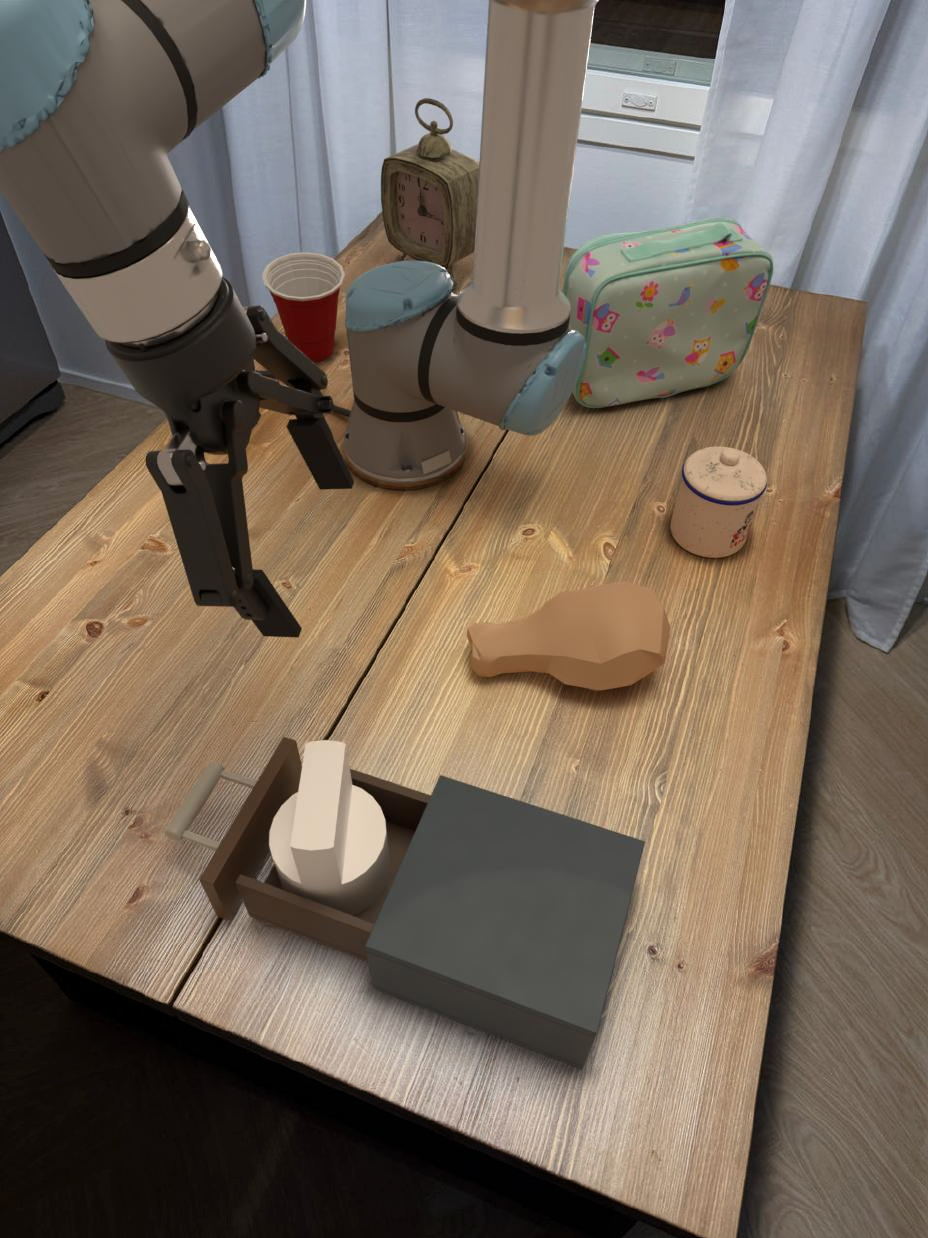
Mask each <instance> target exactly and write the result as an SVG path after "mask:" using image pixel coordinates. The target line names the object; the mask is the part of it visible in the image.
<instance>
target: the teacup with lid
mask: <svg viewBox="0 0 928 1238" xmlns="http://www.w3.org/2000/svg"><path fill="white" fill-rule="evenodd" d="M767 487H768V476H767V472H766V470H765V468H764V466H763V464H761V463H760V462H759V461H758V459H756V458H755V457H754V456H752V455H751V454H749V453H747V452H745V451H742V450H740V449H737V448H733V447H729V446H709V447H704V448H701V449H699V450H696V451H694V452H692V454H690V455H689V456H688V457H687V459H686V460H685V461H684V463H683V465H682V468H681V480H680V484H679V488H678V493H677V497H676V500H675V504H674V508H673V513H672V517H671V519H670V520H671V521H670V532H671V535H672V537H673V539H674V540H675V542H676V543H677V544H678V546H680V547H682V548H683V549H684V550H686V551H687V552H689V553H691V554H693V555H697V556H699V557H704V558H710V559H718V558H726V557H730V556H732V555H734V554H736V553H737V552H739V551H740V550H741V549H743V546H744V545H745V543H746V541H747V538H748V535H749V532H750V529H751V527H752V523H753V520H754V517H755V514H756V513H757V509H758V506H759V503H760V501H761V497H762V496H763V495H764V493H765V492H766V490H767Z"/></svg>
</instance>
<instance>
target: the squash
mask: <svg viewBox="0 0 928 1238" xmlns="http://www.w3.org/2000/svg"><path fill="white" fill-rule="evenodd" d="M670 633H671V626H670V622H669V619H668V616H667V613H666V609H665V607H664V605H663V603H662V602H661V600H660V598H659V596H658V594H657V593H656V591H655V590H654V589H653V588H649V587H646V586H643V585H642V586H641V585H640V584H636V583H632V582H629V581H627V580H626V581H624V580H623V581H614V582H606V583H600V584H595V585H590V586H588V587H587V588H583V589H575V590H567V591H560V592H559V593H558V594H556V595H554V596H553V597H551V598H549V599H548V600H546V601H545V603H544V604H543V605H542V606H541V608H539V609H538V610H536V611H535V612H533V613H532V614H530V615H528V616H526V617H525V618H523V619H516V620H510V621H504V622H499V623H494V622H488V621H485V622H484V621H483V622H474V623H473V624H471V625H470V626H468V627H467V631H466V638H467V641H468V643H469V646H470V649H471V654H470V662H469V669H470V670H472V671H473V672H474V673H475V674H477V676H478V677H484V678H492V677H495V676H498V675H501V674H511V673H523V672H525V673H526V672H534V673H542V674H548V675H551V676H552V677H554V678H555V679H556V680H558V681H559V682H561V683H562V684H564V685H566V686H567V685H568V686H573V687H579V688H584V689H587V690H589V691H605V690H612V689H618V688H623V687H628V686H632V685H633V684H635V683H637V682H638V681H640V680H642V679H643V678H645V677H647V676H648V675H650V674H652V673H653V672H654V671H656V670H658V669H660V668H662V667H663V666H664V665H665V663H666V657H667V653H668V645H669V639H670Z"/></svg>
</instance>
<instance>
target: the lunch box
mask: <svg viewBox="0 0 928 1238" xmlns="http://www.w3.org/2000/svg"><path fill="white" fill-rule="evenodd" d="M773 275H774V260H773V256H772V254H771V253H770V252H769V251H767V250H766V249H765V248H764V247H763V246H762V245H760V243H759V242H757V241H756V240H755V239H754V238H752V236H750V235H749V234H748V233H747V231H746V230H745V229H744V228H743V227H742V225H741V224H740V222H738V221H737V220H735V219H731V218H729V217H718V218H717V217H716V218H715V217H714V218H707V219H702V220H697V221H693V222H688V223H684V224H679V225H674V226H669V227H663V228H657V229H649V230H644V231H636V232H633V231H631V232H615V233H608V234H607V233H606V234H602V235H600V236H596V237H594V238H592V239H589V240H588V241H586V242H585V243H584V244H582V245H581V246H580V247H579V248H577V249H576V251H575V252H574V253H573V254H572V255H571V256H570V258H569V260H568V262H567V265H566V269H565V272H564V279H563V286H562V290H561V291H562V292H563V293H564V295H565V296H566V297H567V298H568V300H569V301H570V304H571V313H570V320H569V330H570V331H571V330H576V331H578V333H580V334H581V335H583V336H584V338H585V343H586V354H585V359H584V363H583V366H582V369H581V372H580V375H579V378H578V380H577V383H576V385H575V387H574V389H573V391H572V393H571V394H572V395H573V397H574V399H575V401H576V402H577V403H578V404H579V405H581V406H582V407H586V408H589V409H601V408H608V407H613V406H619V405H624V404H628V403H634V402H638V401H645V400H652V399H665V398H666V399H667V398H669V397H673V396H674V395H677V394H679V393H680V394H681V393H682V392H688V391H691V390H696V389H703V388H706V387H709V386H712V385H715V384H718V383H719V382H721V381H723V380H725V379H726V378H728V377H729V376H730V375H731V374H732V373H734V371H735V370H736V369H737V368H738V367H739V366H740V365H741V363H742V362H743V360H744V358H745V357H746V355H747V352H748V350H749V349H750V345H751V343H752V340H753V337H754V335H755V331H756V328H757V326H758V323H759V319H760V316H761V314H762V310H763V307H764V305H765V302H766V299H767V295H768V292H769V288H770V286H771V283H772V279H773Z"/></svg>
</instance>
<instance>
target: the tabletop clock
mask: <svg viewBox="0 0 928 1238" xmlns="http://www.w3.org/2000/svg"><path fill="white" fill-rule="evenodd" d="M425 104H427V105H432V106H435V107H437V108H439V109H441V110H442V111H443V112H444V113H445V115H446V116H447V118H448V120H449V125H448V127H447V128H438V122H437V121H436V120H432V121H430V123H429V124H428V123H426V122H425V121H424V120H423V119H422V118H421V117H420V115H419V109H420V107H421V106H422V105H425ZM414 115H415V118H416V120H417V121H418V124H419V125H420V126H421V127H423V128H424V129H425V130H427V131H428V133H426V134H424V135H423V136H421V137H420V139H419V141H418V143H416V144H415V145H411V146H410V147H408V148H406V149H404V150H401V151H399V152H397V153H395V154H392V155H390V156H388V157H386V158H384V159H383V161H382V165H381V170H380V171H381V173H380V202H381V203H380V204H381V211H382V213H381V214H382V221H383V226H384V231H385V235H386V238H387V241H388V243H390V245H391V246H392V247H393V248H395V249H396V250H397V251H399V252H401V253H402V255H398V256H397V257H396V259H395V262H400V261H407V258H406V257H407V256H408V257H410V258H411V259H414V260H415V261H426V262H431V263H435V264H437V265H440V266H442V267H443V268H448V270H447V271H448V273H449V275H450V276H451V280H452V282H453V289H455V288H456V287H457V285H458V284H457V279H456V278H455V277H454V264H456V263H458V262H459V261H461V260H463V259H465V258H466V257H468V256H471V254H473V253H474V250H475V233H476V215H477V197H478V180H479V162H480V160H477V159H476V158H473V157H471V156H469V155H467V154H464V153H462V152H460V151H458V150H455V149H453V146H452V144H451V142H450V140H449V139H448V137H447V136H445V135H446V134H449V133H450V132H451V131H452V130H453V126H454V119H453V115H452V113H451V111H450V110H449V108H447V106H446V105H445V104H444V103H442V102H441V101H438V100H437V99H434V98H429V97H425V98H422V99H419V100H418V101H417V103H416V104H415V107H414Z"/></svg>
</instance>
